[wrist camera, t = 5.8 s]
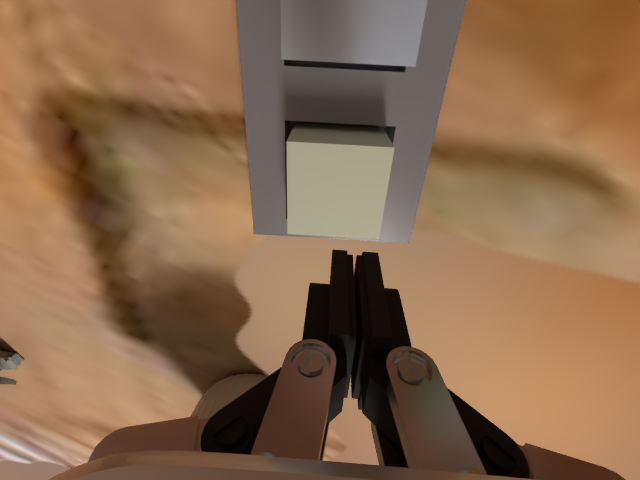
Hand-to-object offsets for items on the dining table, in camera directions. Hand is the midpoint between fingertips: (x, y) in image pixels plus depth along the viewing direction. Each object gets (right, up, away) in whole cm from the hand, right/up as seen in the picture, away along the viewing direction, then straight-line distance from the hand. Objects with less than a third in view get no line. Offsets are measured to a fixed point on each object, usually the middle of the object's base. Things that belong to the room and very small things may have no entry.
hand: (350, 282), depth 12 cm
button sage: (0, +7, +11) cm, 13 cm away
